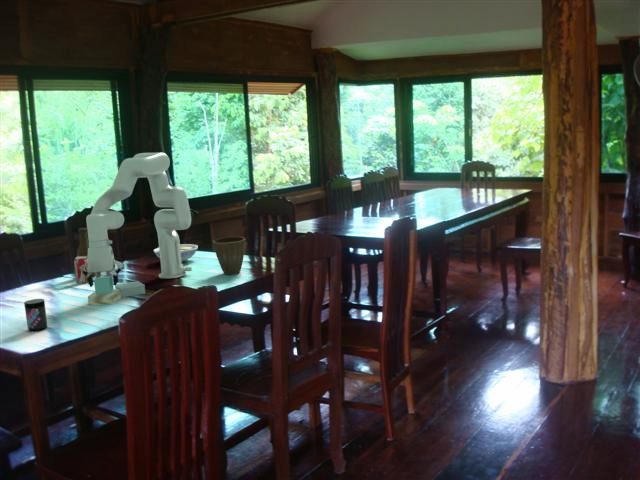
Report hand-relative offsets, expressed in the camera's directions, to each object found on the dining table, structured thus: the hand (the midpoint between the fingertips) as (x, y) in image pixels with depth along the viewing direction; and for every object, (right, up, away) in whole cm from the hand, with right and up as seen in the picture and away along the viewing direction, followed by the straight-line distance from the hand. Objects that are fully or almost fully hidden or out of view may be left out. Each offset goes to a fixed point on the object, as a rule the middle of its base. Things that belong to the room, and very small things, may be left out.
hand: (103, 285), depth 280 cm
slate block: (+8, -5, +13) cm, 15 cm away
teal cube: (0, -3, +1) cm, 3 cm away
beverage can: (-22, -2, +39) cm, 45 cm away
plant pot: (+47, +3, +40) cm, 62 cm away
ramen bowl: (+14, +7, +75) cm, 77 cm away
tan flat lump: (0, -7, +1) cm, 7 cm away
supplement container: (-13, -14, -34) cm, 39 cm away
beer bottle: (-24, 0, +51) cm, 56 cm away
